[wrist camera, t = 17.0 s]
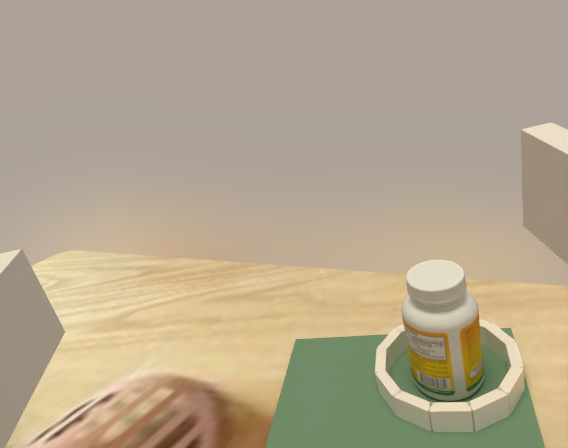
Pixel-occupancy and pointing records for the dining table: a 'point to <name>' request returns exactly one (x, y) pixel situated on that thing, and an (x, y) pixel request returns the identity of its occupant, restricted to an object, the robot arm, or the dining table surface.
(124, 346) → the dining table surface
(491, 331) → the segmented ring wall
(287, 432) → the putting mat
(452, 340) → the supplement bottle
